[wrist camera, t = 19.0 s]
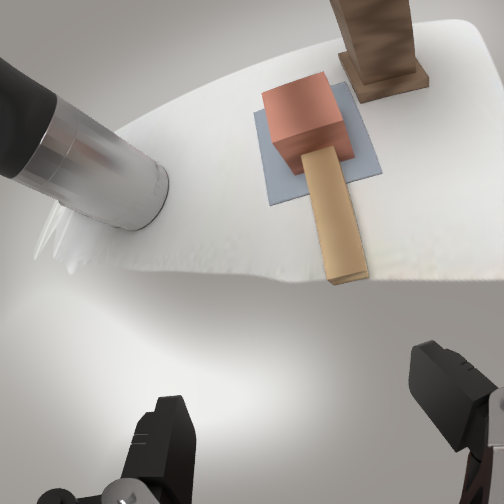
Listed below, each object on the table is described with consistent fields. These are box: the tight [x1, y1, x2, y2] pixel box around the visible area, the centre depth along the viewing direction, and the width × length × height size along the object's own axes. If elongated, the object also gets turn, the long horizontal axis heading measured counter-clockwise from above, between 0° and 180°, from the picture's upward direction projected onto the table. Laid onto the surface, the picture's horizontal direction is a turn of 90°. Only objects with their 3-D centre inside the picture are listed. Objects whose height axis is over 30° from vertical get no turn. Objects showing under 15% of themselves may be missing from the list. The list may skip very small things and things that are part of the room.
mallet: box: [262, 72, 369, 285], centre depth 26 cm, size 6×17×6 cm, turn 8°
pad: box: [254, 82, 382, 206], centre depth 30 cm, size 11×12×1 cm
